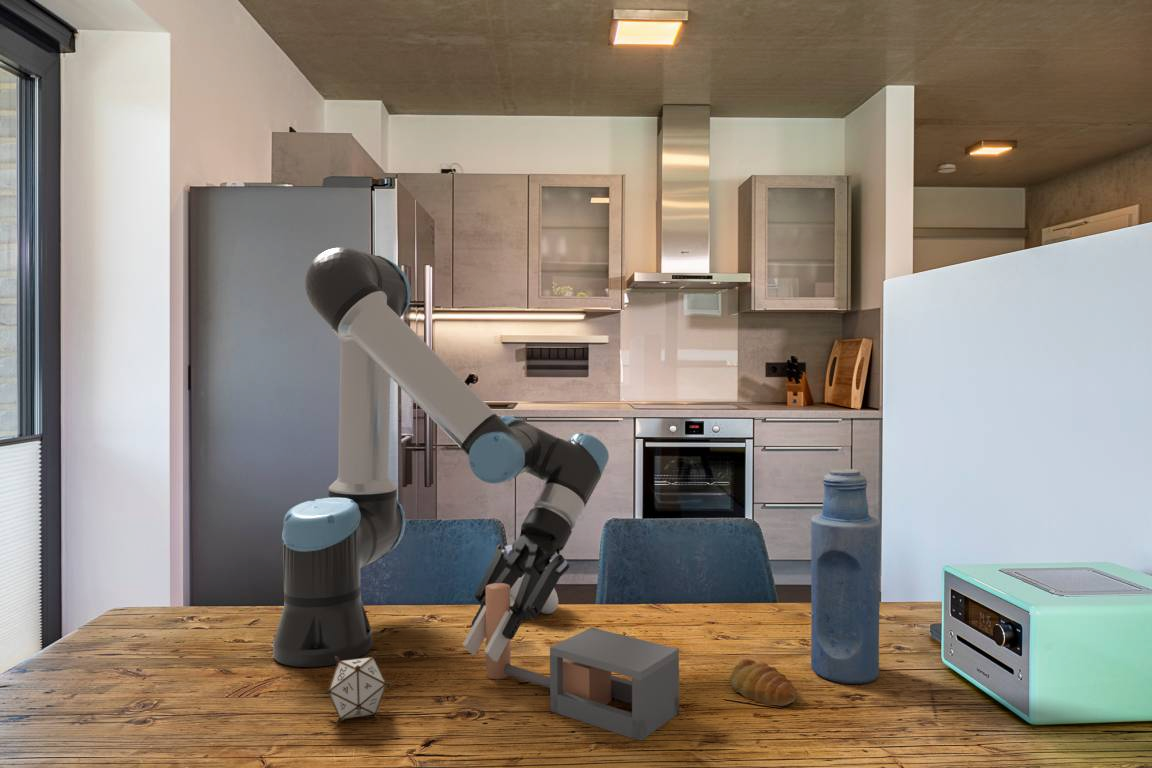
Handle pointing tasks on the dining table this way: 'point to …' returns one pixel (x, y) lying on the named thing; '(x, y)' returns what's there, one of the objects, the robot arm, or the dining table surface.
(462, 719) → the dining table surface
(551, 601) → the white knot
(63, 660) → the dining table surface
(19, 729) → the dining table surface
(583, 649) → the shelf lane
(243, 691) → the dining table surface
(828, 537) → the bottle
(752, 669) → the pastry
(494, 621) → the block
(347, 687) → the game die
